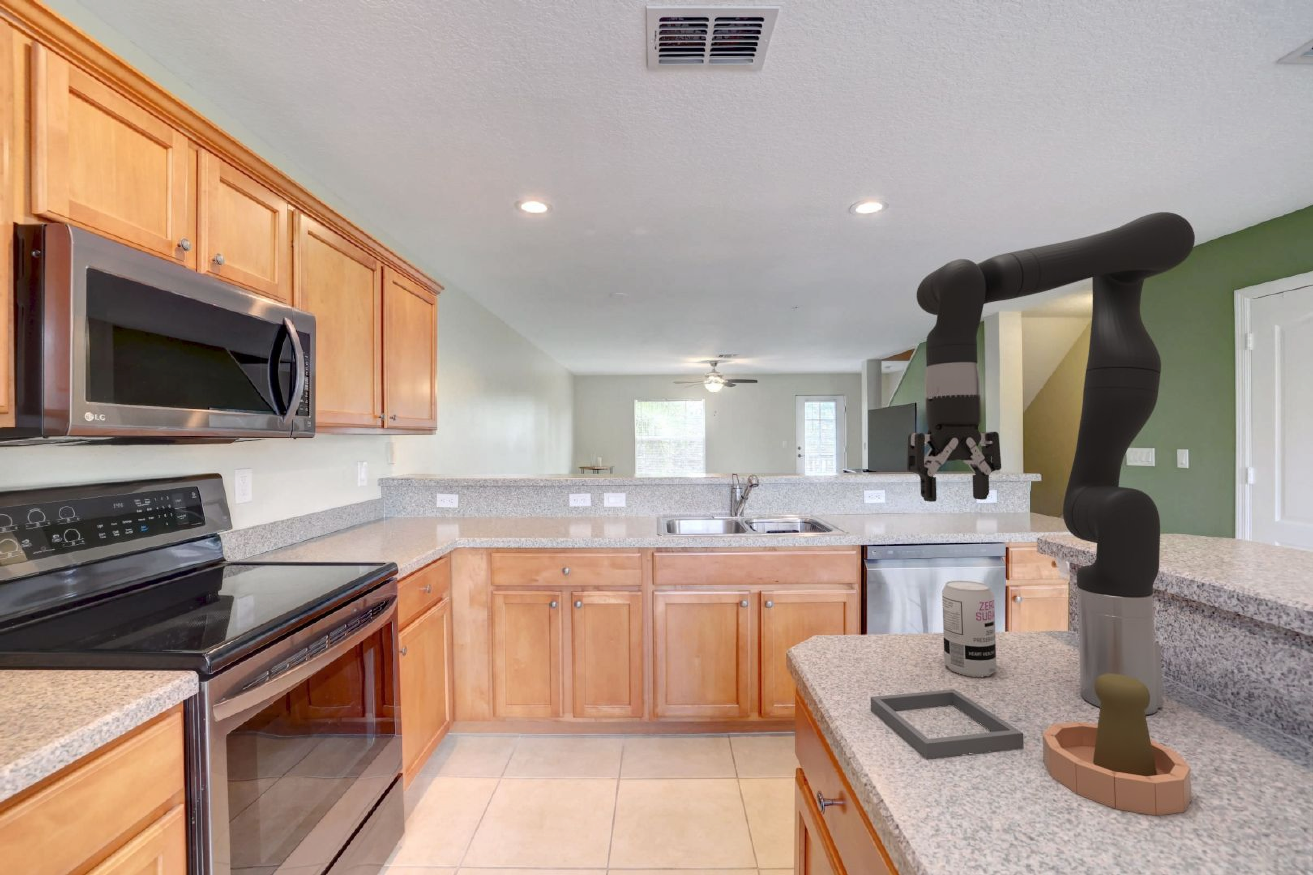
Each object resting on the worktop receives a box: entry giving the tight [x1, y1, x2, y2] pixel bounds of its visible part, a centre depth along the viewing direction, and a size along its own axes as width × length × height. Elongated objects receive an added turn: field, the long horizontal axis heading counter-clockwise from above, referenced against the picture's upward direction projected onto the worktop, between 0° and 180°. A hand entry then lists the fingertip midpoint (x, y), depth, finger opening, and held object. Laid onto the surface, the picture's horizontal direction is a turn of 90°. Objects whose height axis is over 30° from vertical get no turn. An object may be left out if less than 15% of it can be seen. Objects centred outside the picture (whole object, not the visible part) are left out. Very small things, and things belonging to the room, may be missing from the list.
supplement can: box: [941, 580, 998, 678], centre depth 102 cm, size 8×8×15 cm
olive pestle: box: [1093, 674, 1157, 776], centre depth 69 cm, size 6×6×11 cm
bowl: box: [1042, 721, 1192, 817], centre depth 69 cm, size 13×13×4 cm
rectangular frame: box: [870, 688, 1025, 760], centre depth 82 cm, size 14×14×2 cm
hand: (955, 500), depth 88 cm, fingers open, 8 cm apart
